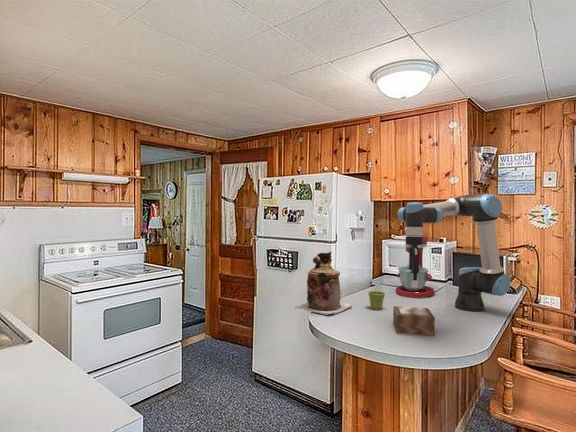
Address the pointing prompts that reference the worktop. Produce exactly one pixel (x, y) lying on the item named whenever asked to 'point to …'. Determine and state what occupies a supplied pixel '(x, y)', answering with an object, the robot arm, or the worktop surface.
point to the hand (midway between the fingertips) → (413, 285)
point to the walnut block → (413, 320)
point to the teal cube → (409, 277)
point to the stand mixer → (425, 290)
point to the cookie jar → (324, 288)
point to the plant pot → (376, 299)
